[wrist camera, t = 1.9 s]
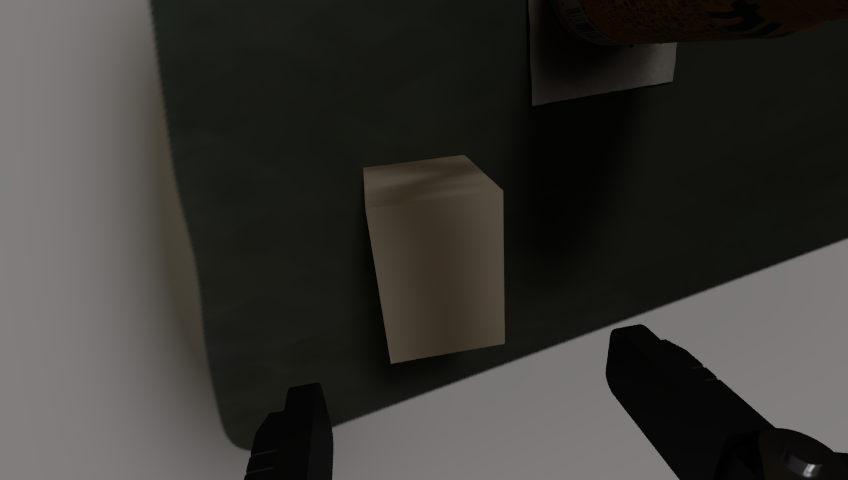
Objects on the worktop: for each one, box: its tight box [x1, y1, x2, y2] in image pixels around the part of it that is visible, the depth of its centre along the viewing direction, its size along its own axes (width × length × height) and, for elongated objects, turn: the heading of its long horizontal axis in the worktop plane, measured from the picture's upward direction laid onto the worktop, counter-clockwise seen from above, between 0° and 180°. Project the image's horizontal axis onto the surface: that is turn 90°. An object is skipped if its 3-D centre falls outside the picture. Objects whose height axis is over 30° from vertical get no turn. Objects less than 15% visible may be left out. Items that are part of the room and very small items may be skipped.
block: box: [363, 155, 505, 364], centre depth 19 cm, size 5×7×6 cm
